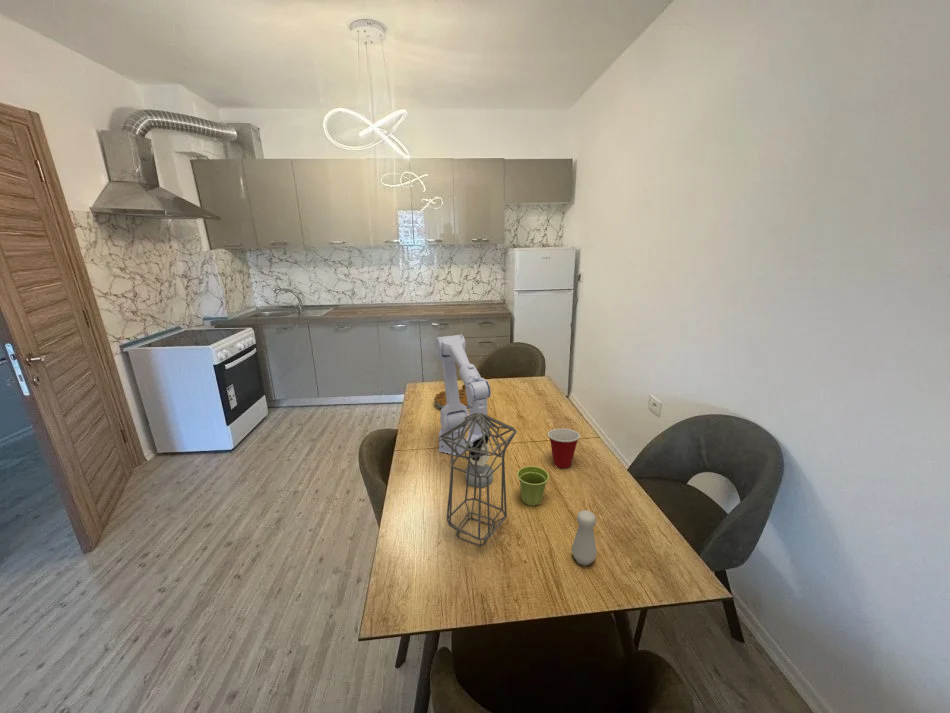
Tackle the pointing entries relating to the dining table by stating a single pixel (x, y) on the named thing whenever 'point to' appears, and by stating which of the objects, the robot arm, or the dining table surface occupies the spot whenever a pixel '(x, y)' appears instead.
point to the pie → (441, 401)
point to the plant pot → (532, 484)
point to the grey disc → (482, 471)
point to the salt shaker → (585, 538)
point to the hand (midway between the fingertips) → (478, 456)
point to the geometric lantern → (486, 421)
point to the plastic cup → (563, 446)
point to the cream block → (482, 457)
